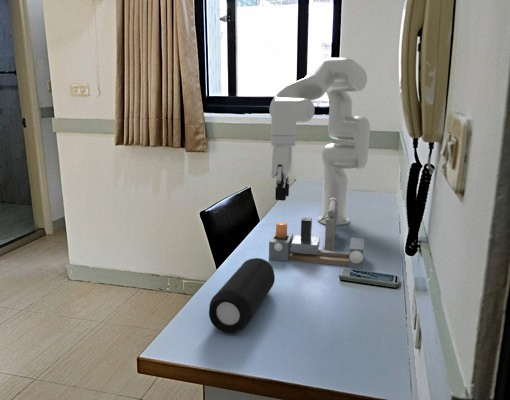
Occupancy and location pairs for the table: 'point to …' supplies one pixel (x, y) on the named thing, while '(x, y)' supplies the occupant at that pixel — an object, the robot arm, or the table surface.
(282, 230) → the button
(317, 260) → the rail base
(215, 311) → the portable speaker
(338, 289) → the table surface
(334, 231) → the geiger counter
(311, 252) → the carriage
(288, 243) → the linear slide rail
